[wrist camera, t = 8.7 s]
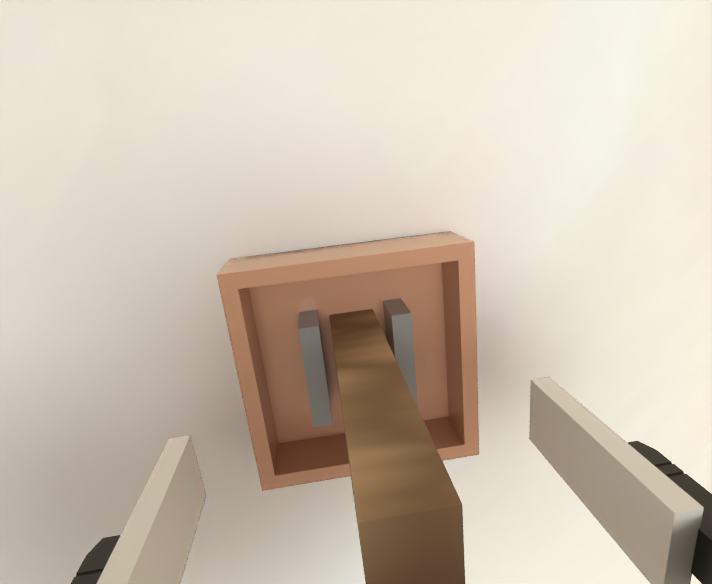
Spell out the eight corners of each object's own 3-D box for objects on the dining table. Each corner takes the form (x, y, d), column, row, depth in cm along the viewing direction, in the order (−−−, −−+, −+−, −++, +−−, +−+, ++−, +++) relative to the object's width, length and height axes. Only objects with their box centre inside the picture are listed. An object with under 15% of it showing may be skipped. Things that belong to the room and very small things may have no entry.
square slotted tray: (268, 448, 26) (262, 490, 22) (230, 258, 22) (216, 274, 19) (457, 418, 26) (479, 454, 23) (450, 231, 23) (474, 241, 20)
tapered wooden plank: (339, 392, 24) (377, 668, 11) (329, 314, 23) (358, 522, 9) (380, 385, 24) (467, 650, 11) (372, 308, 23) (461, 504, 9)
